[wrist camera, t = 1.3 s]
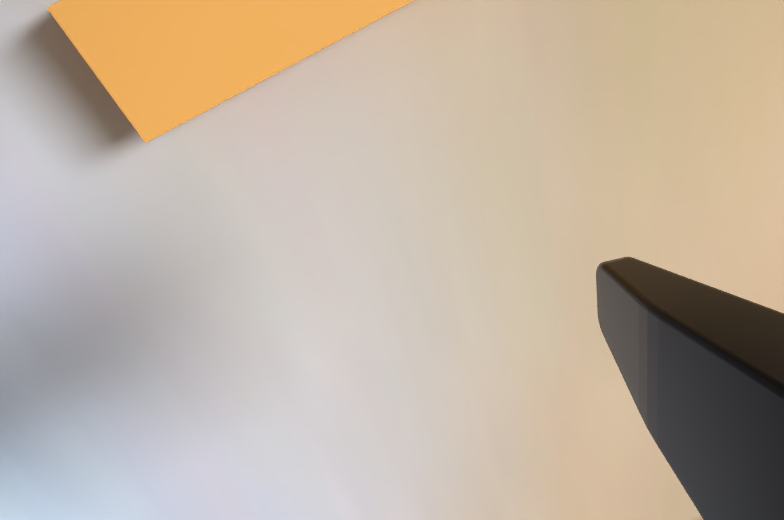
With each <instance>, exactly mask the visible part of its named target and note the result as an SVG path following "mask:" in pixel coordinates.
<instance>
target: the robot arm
mask: <svg viewBox="0 0 784 520" xmlns="http://www.w3.org/2000/svg"><path fill="white" fill-rule="evenodd" d="M596 285H597V309H598V320H599V324H600V328H601V331H602V333H603V335H604V337H605V340H606V342H607V344H608V346H609V348H610V350H611V352H612V355H613V357H614V359H615V361H616V363H617V365H618V367H619V370H620V372H621V374H622V376H623V378H624V380H625V382H626V385H627V387H628V389H629V391H630V393H631V395H632V397H633V400H634V402H635V404H636V406H637V408H638V410H639V412H640V414H641V416H642V418H643V420H644V422H645V425H646V427H647V428H648V430H649V432H650V434H651V435H652V437H653V439H654V440H655V442H656V444H657V445H658V447H659V449H660V450H661V452H662V453H663V455H664V457H665V458H666V460H667V462H668V463H669V465H670V466H671V468H672V470H673V471H674V473H675V474H676V476H677V478H678V479H679V481H680V482H681V484H682V486H683V487H684V489H685V490H686V492H687V494H688V495H689V497H690V498H691V500H692V502H693V503H694V505H695V506H696V508H697V510H698V511H699V513H700V514H701V516H702V518H703V519H704V520H784V313H781V312H778V311H776V310H773V309H770V308H767V307H765V306H762V305H759V304H757V303H754V302H751V301H748V300H746V299H743V298H740V297H738V296H735V295H732V294H730V293H727V292H724V291H721V290H719V289H716V288H713V287H711V286H708V285H705V284H702V283H700V282H697V281H694V280H692V279H689V278H686V277H684V276H681V275H678V274H675V273H673V272H670V271H667V270H665V269H662V268H659V267H656V266H654V265H651V264H648V263H646V262H643V261H640V260H637V259H635V258H632V257H623V258H619V259H615V260H611V261H606V262H602V263H600V264H599V266H598V267H597V271H596Z"/></svg>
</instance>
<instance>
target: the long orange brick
mask: <svg viewBox="0 0 784 520" xmlns="http://www.w3.org/2000/svg"><path fill="white" fill-rule="evenodd" d="M411 1H413V0H60V1H58V2H56V3H54V4H53V5H51V6H49V7H48V8H47V9H48V10H49V12H50V13H51V14H52V16H53V17H54V19H55V20H56V21H57V23H58V24H59V25H60V27H61V28H62V29H63V31H64V32H65V34H66V35H67V36H68V38H69V39H70V40H71V42H72V43H73V45H74V46H75V47H76V49H77V50H78V51H79V53H80V54H81V55H82V57H83V58H84V60H85V61H86V62H87V64H88V65H89V66H90V68H91V69H92V71H93V72H94V73H95V75H96V76H97V77H98V79H99V80H100V82H101V83H102V84H103V86H104V87H105V88H106V90H107V91H108V92H109V94H110V95H111V97H112V98H113V99H114V101H115V102H116V103H117V105H118V106H119V108H120V109H121V110H122V112H123V113H124V114H125V116H126V117H127V119H128V120H129V121H130V123H131V124H132V125H133V127H134V128H135V129H136V131H137V132H138V134H139V135H140V136H141V138H142V139H143V140H144V142H145V143H146V142H148V141H150V140H152V139H154V138H156V137H158V136H160V135H161V134H163V133H165V132H167V131H169V130H171V129H173V128H175V127H176V126H178V125H180V124H182V123H184V122H186V121H188V120H190V119H191V118H193V117H195V116H197V115H199V114H201V113H203V112H205V111H206V110H208V109H210V108H212V107H214V106H216V105H218V104H220V103H222V102H223V101H225V100H227V99H229V98H231V97H233V96H235V95H237V94H238V93H240V92H242V91H244V90H246V89H248V88H250V87H252V86H253V85H255V84H257V83H259V82H261V81H263V80H265V79H267V78H268V77H270V76H272V75H274V74H276V73H278V72H280V71H282V70H284V69H285V68H287V67H289V66H291V65H293V64H295V63H297V62H299V61H300V60H302V59H304V58H306V57H308V56H310V55H312V54H314V53H315V52H317V51H319V50H321V49H323V48H325V47H327V46H329V45H331V44H332V43H334V42H336V41H338V40H340V39H342V38H344V37H346V36H347V35H349V34H351V33H353V32H355V31H357V30H359V29H361V28H362V27H364V26H366V25H368V24H370V23H372V22H374V21H376V20H377V19H379V18H381V17H383V16H385V15H387V14H389V13H391V12H393V11H394V10H396V9H398V8H400V7H402V6H404V5H406V4H408V3H409V2H411Z"/></svg>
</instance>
